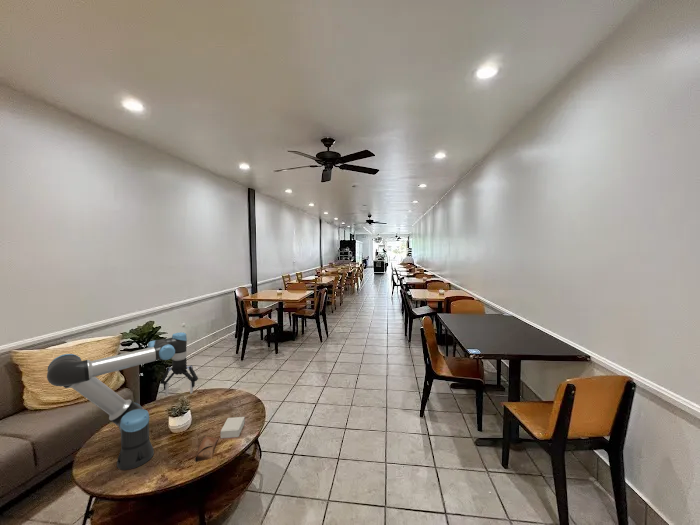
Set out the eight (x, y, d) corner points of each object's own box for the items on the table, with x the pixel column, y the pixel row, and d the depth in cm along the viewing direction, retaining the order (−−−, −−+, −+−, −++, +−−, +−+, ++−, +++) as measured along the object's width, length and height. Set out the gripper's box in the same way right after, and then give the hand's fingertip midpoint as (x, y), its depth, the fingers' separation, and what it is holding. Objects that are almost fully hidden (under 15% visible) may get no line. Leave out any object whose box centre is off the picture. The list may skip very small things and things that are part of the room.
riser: (238, 436, 165) (238, 429, 165) (220, 438, 163) (220, 431, 163) (244, 423, 179) (244, 416, 179) (227, 424, 177) (227, 417, 177)
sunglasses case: (213, 458, 147) (206, 448, 146) (200, 467, 145) (192, 458, 144) (219, 437, 164) (212, 428, 163) (207, 446, 162) (200, 437, 161)
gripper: (203, 355, 179) (203, 389, 179) (159, 358, 174) (159, 392, 174) (199, 359, 172) (199, 394, 172) (153, 362, 167) (153, 398, 167)
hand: (179, 393), depth 173 cm, fingers open, 13 cm apart
